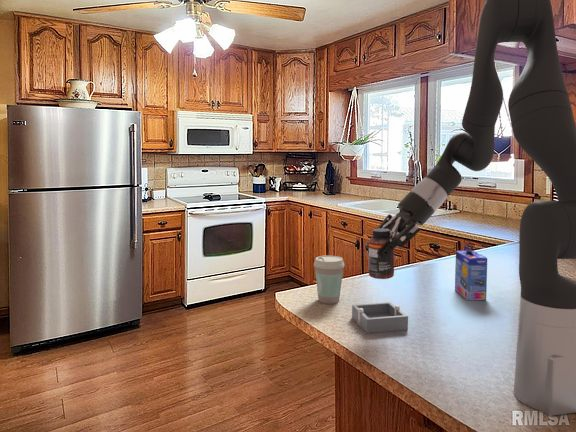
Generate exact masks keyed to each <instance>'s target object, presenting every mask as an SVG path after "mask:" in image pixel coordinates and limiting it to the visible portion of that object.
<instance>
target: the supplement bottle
mask: <svg viewBox="0 0 576 432" xmlns="http://www.w3.org/2000/svg"><path fill="white" fill-rule="evenodd" d="M377 228H378V227H377ZM377 228H374V229H372V237H371V238H370V239H369V240H368V244H369V250H368V275H369V277H370V278H372V279H375V280H376V279H378V280H388V279H391V278H393V277H394V276H395V248H394V249H393V250H392V251H391V252H390V253H389V254H388V255H387V256H386V258H384V259H382V258H381V257H380V256H379V255H378V254H377V251H378V250H379V249H380V248H381V247H382V246H383V245H384V244H385V243H386V242H387V241H388V240H389V238H390V230H389V229H384V228H383V227H382V228H378V229H377ZM388 242H389V241H388Z"/></svg>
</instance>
